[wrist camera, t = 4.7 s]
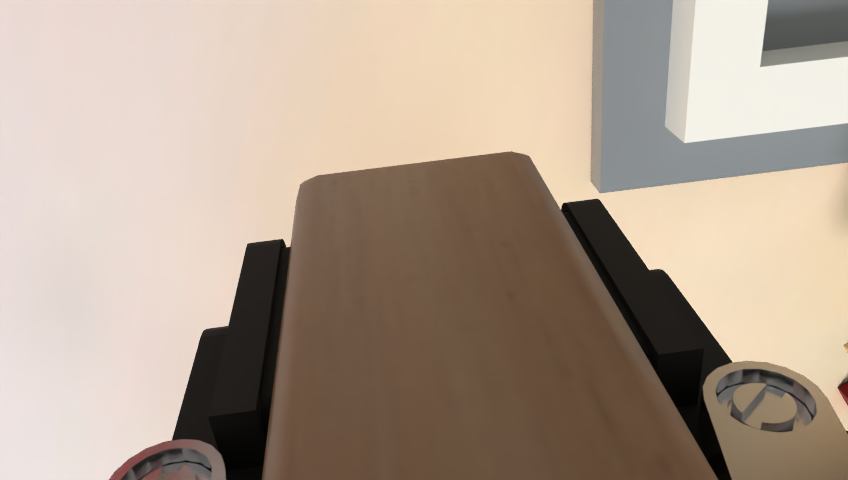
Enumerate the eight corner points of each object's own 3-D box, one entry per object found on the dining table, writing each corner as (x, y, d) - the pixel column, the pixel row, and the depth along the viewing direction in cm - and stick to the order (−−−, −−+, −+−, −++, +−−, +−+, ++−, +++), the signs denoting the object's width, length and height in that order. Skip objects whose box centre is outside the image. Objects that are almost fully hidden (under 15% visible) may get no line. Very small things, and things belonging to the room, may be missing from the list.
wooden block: (534, 330, 14) (719, 806, 7) (330, 358, 14) (319, 871, 7) (530, 140, 12) (779, 540, 5) (293, 169, 12) (226, 623, 5)
